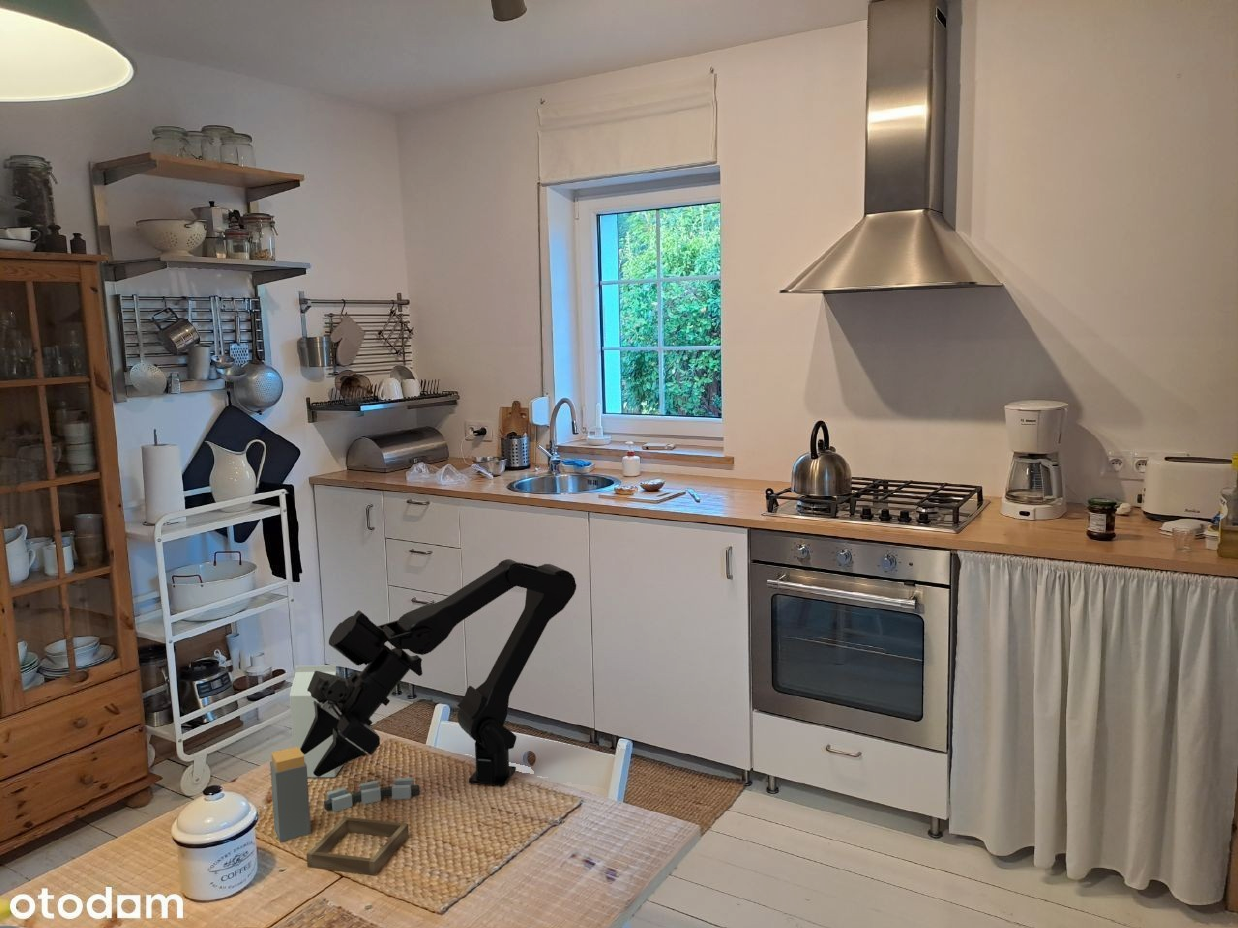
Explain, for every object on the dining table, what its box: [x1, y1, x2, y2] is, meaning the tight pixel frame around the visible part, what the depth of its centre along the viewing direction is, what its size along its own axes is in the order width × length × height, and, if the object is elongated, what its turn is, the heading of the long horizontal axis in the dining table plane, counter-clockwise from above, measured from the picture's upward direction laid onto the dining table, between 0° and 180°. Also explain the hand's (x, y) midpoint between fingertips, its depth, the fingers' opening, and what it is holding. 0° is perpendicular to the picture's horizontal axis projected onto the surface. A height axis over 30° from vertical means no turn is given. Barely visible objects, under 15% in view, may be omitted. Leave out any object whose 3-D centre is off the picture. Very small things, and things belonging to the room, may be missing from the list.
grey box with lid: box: [269, 747, 312, 843], centre depth 138 cm, size 4×4×12 cm
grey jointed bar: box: [323, 777, 421, 813], centre depth 148 cm, size 4×15×2 cm, turn 110°
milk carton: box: [289, 664, 345, 778], centre depth 158 cm, size 7×7×19 cm
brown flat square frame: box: [306, 816, 410, 876], centre depth 133 cm, size 11×11×2 cm
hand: (308, 763), depth 139 cm, fingers open, 9 cm apart
